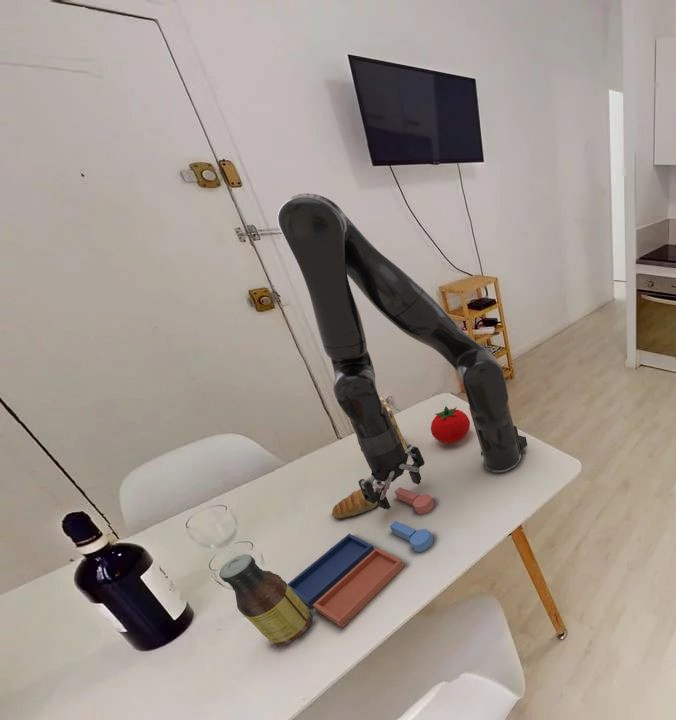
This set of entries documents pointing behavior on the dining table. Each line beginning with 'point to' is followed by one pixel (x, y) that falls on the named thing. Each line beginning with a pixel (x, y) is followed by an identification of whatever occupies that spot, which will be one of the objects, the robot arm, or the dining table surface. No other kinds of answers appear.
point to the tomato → (450, 425)
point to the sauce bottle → (266, 600)
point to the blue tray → (329, 569)
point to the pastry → (352, 505)
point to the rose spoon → (415, 500)
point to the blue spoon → (413, 536)
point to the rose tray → (358, 587)
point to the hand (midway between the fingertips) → (402, 494)
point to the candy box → (394, 423)
